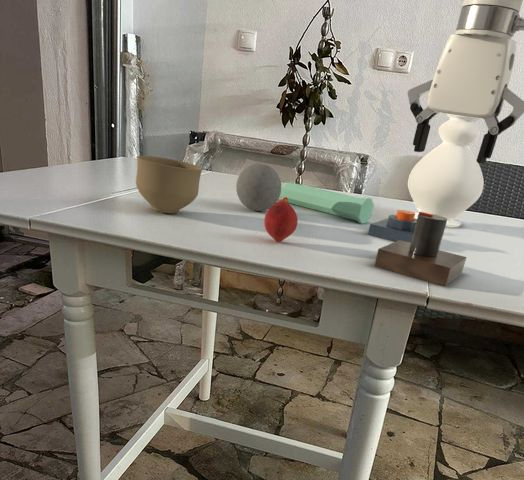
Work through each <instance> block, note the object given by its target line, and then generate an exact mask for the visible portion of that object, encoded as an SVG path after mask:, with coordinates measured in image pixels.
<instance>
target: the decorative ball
mask: <svg viewBox="0 0 524 480" xmlns="http://www.w3.org/2000/svg"><path fill="white" fill-rule="evenodd" d="M235 185H236V186H235V189H236V195H237V197H238V199H239V201H240V203H241V204H242V205H243V206H244V207H246V208H247V209H249V210H250V211H254V212H265V211H268V210H269V208H270V207H272V206H273V205H274V204H275V203H277V202H279V200H280V198H281V197H280V194H281V186H282V182H281V178H280V175H279V174H278V173H277V171H276V170H275V169H274V168H273V167H271V166H270V165H268V164H266V163H265V164H264V163H253V164H250V165H248V166H247V167H244V169H243V170H242V171H241V172H240V174H239V175H238V177H237V180H236V184H235Z"/></svg>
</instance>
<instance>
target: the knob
mask: <svg viewBox="0 0 524 480" xmlns="http://www.w3.org/2000/svg"><path fill="white" fill-rule="evenodd" d="M446 222H447V218H445V217H442V216H439V215H434V214H429V213H425V212H419V214H418V217H417V221H416V225H415V229H414V233H413V237H412V241H411V245H410V249H409V251H410V252H412V253H414V254H417V255H421V256H427V257H435V256H437V255H438V251H439V250H440V247H441V243H442V240H443V236H444V232H445V229H446V227H445V226H446Z"/></svg>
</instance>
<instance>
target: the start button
mask: <svg viewBox="0 0 524 480" xmlns="http://www.w3.org/2000/svg"><path fill="white" fill-rule="evenodd" d="M415 213H416V212H413V211H410V210H406V209H398V210H397V212H396V214H395V215H396V218H397V219H401V220H406V221H413V220H414V216H415Z"/></svg>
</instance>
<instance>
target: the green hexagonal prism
mask: <svg viewBox="0 0 524 480" xmlns="http://www.w3.org/2000/svg"><path fill="white" fill-rule="evenodd" d="M283 197H287V198H288V204H292V205H295V206H299V207H303V208H308V209H312V210H315V211H319V212H322V213H327V214H330V215H334V216H338V217H342V218H346V219H349V220H350V219H351V220H354V221H357V222H358V223H357V224H367V223H368V222H369V220H370V219H371V217H372V216H373V211H374V202H373V199H372V198H371V197H363V198H362V197H358V196H354V195H348V194H344V193H339V192H335V191H332V190H326V189H322V188H319V187H318V188H317V187H314V186H309V185H304V184H299V183H297V182H289V181H287V182H284V183H281V194H280V197H279V198H280V199H281V198H283Z"/></svg>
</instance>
